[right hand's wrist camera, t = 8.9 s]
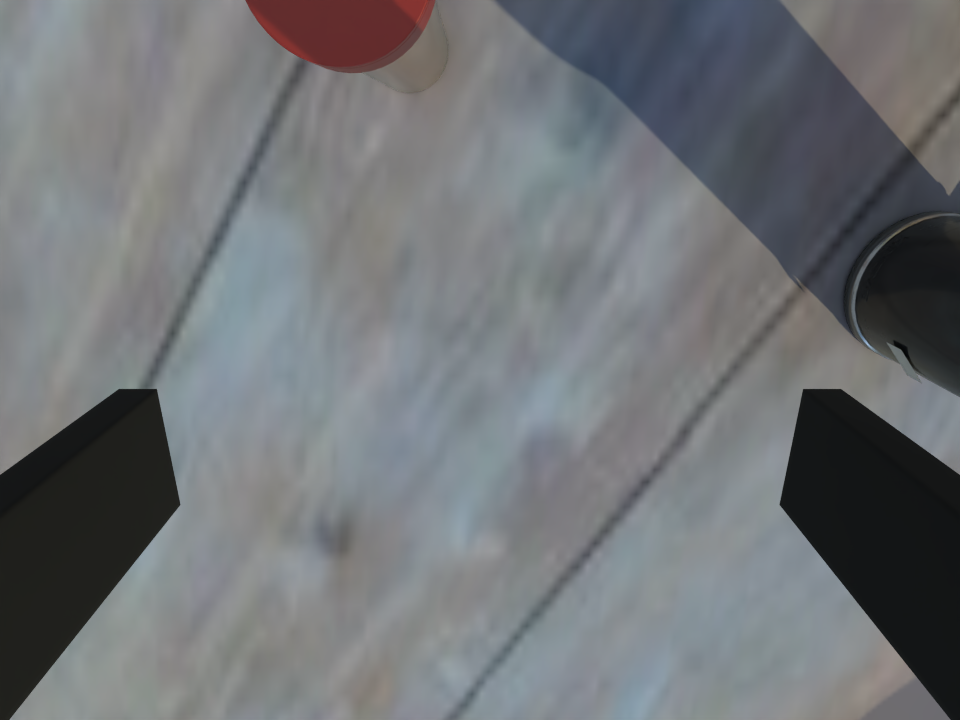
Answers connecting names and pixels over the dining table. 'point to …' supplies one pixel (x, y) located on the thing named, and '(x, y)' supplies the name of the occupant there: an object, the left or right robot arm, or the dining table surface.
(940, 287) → the left robot arm
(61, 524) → the right robot arm
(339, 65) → the lid
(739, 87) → the dining table surface
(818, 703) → the dining table surface
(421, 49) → the wooden cylinder
